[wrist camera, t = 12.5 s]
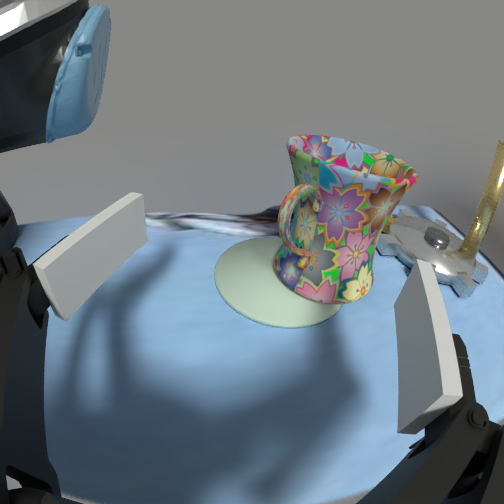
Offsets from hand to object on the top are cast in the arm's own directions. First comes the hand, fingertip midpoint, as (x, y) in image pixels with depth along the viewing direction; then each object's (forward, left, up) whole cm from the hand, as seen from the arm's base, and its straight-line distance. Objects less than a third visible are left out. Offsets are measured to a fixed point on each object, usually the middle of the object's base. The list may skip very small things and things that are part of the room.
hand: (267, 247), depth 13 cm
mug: (+3, +8, -8) cm, 12 cm away
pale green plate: (0, +8, -8) cm, 12 cm away
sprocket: (+16, +19, -8) cm, 26 cm away
